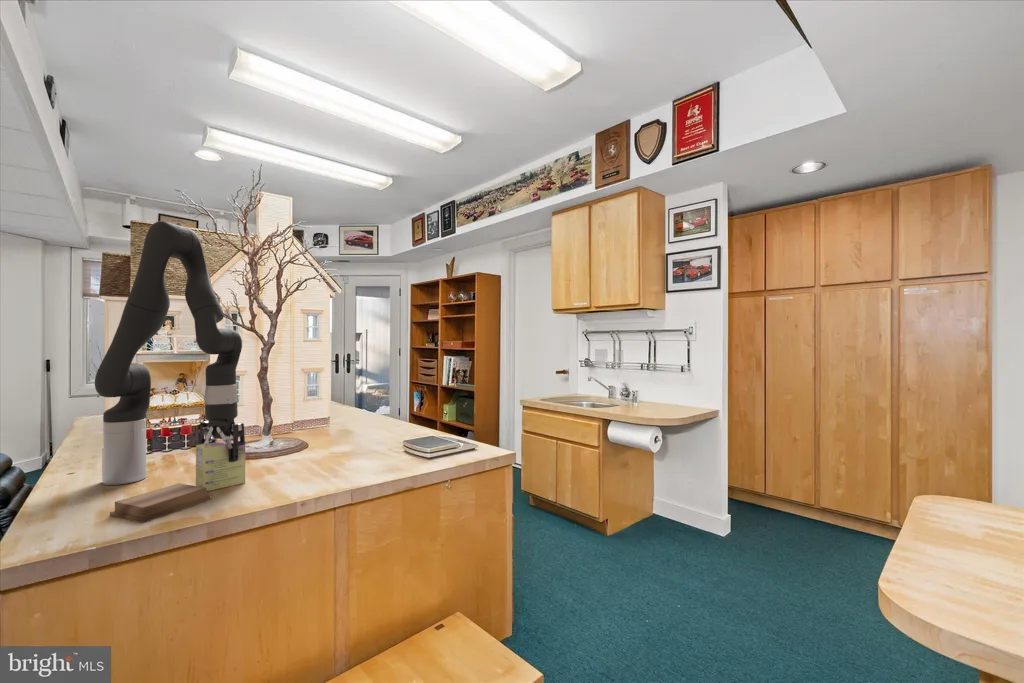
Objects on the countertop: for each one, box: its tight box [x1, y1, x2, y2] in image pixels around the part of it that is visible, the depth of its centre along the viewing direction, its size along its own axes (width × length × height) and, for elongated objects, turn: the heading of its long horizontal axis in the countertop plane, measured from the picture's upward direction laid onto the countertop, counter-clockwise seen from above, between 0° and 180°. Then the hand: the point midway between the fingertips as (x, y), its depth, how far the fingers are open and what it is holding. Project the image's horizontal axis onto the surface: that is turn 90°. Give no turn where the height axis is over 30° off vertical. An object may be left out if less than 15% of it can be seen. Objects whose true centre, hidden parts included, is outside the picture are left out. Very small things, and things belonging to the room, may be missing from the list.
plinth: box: [109, 483, 212, 523], centre depth 106 cm, size 11×15×3 cm
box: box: [195, 438, 246, 492], centre depth 121 cm, size 10×6×12 cm, turn 141°
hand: (222, 460), depth 121 cm, fingers open, 8 cm apart
